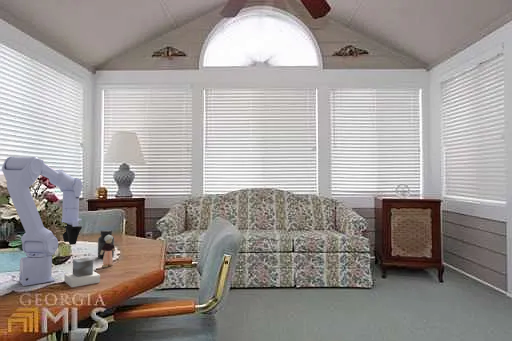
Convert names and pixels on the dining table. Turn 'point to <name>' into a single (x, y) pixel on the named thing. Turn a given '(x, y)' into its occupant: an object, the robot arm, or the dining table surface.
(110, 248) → the grandmother figurine
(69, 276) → the cream base block
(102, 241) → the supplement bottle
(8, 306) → the dining table surface
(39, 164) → the robot arm
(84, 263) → the slate block
